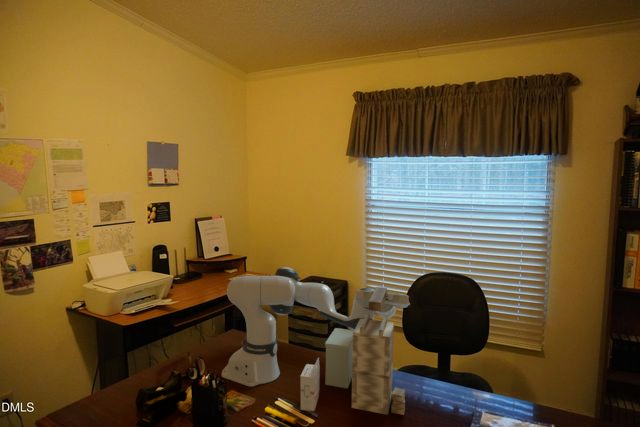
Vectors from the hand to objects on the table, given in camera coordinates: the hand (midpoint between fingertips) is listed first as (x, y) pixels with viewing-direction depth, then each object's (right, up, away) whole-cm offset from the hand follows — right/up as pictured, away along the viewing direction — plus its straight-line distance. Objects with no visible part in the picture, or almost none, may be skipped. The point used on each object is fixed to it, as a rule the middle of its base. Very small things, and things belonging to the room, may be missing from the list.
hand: (380, 293), depth 134 cm
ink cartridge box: (-26, -35, -10) cm, 45 cm away
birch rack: (-4, -35, -8) cm, 36 cm away
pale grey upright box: (-14, -34, +7) cm, 37 cm away
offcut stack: (+4, -36, -13) cm, 38 cm away
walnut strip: (-1, -2, -4) cm, 5 cm away
